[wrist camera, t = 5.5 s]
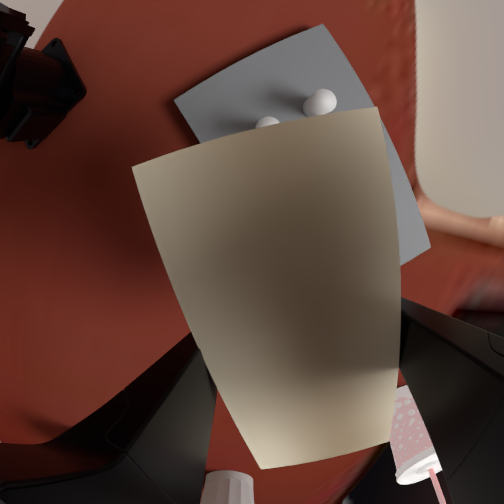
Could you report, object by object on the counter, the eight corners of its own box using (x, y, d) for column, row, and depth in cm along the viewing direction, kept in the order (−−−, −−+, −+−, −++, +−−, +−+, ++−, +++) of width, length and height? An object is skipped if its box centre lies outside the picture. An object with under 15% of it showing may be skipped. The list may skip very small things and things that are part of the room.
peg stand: (178, 102, 16) (156, 92, 12) (319, 30, 14) (334, 3, 10) (303, 307, 21) (312, 343, 17) (422, 241, 19) (453, 263, 15)
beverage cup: (369, 395, 24) (409, 521, 11) (425, 369, 23) (486, 482, 10) (377, 425, 26) (409, 531, 13) (427, 402, 25) (472, 500, 12)
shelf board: (260, 414, 12) (261, 469, 9) (171, 158, 8) (131, 167, 5) (369, 390, 11) (389, 440, 9) (338, 118, 8) (377, 106, 5)
